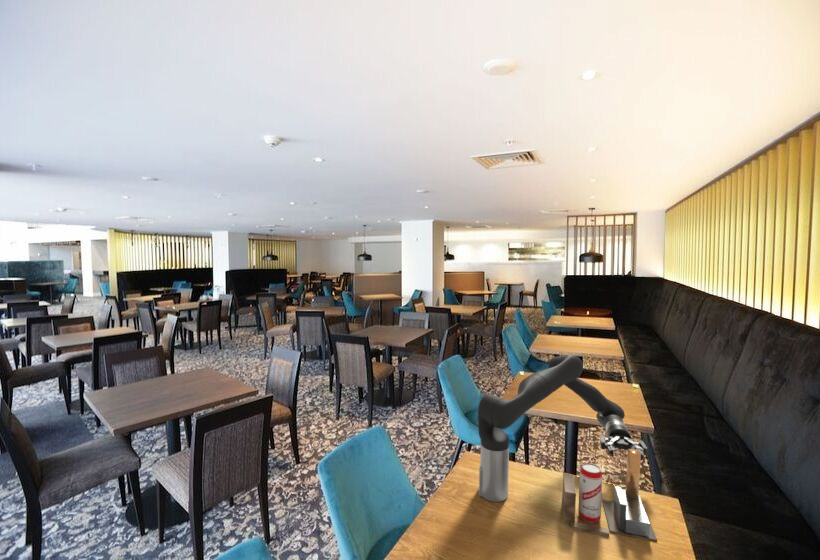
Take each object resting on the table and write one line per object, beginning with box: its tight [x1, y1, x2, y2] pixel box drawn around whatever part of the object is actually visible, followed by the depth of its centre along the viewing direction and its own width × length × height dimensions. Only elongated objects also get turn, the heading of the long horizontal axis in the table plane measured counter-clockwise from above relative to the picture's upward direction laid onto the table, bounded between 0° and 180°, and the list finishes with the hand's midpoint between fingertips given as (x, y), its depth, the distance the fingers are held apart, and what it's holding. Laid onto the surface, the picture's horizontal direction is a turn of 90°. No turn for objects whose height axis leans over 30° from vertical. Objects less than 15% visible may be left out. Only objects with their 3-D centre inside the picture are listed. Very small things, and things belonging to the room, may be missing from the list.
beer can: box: [577, 462, 603, 524], centre depth 121 cm, size 6×6×16 cm
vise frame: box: [561, 472, 658, 542], centre depth 122 cm, size 24×17×10 cm
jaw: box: [613, 448, 651, 537], centre depth 120 cm, size 8×15×18 cm, turn 162°
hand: (626, 455), depth 133 cm, fingers open, 8 cm apart
